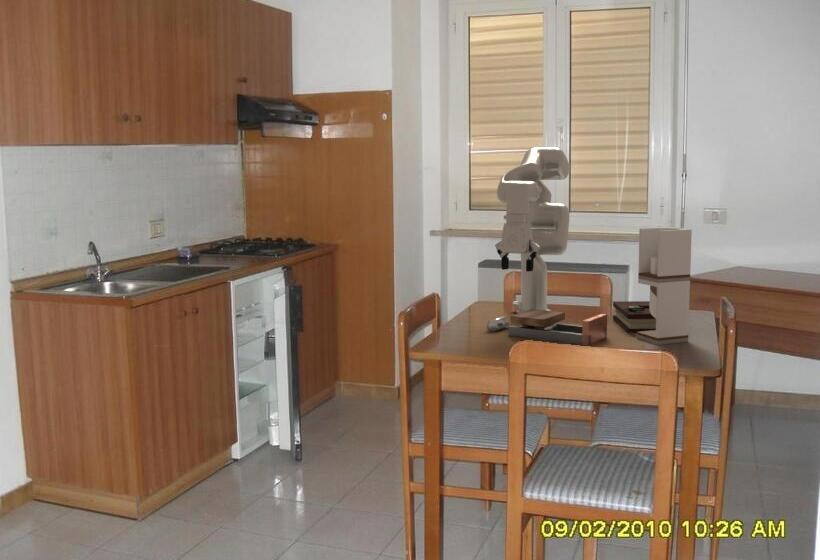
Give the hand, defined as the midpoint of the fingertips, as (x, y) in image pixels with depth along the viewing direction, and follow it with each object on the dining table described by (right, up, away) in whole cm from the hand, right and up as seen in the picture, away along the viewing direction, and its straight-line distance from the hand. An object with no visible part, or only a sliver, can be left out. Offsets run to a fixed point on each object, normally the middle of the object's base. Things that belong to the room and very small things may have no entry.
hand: (517, 270), depth 286 cm
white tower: (+44, -22, -17) cm, 52 cm away
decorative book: (+44, -20, +6) cm, 49 cm away
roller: (-6, -20, +3) cm, 21 cm away
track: (+12, -22, -10) cm, 26 cm away
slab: (+6, -17, -6) cm, 19 cm away
